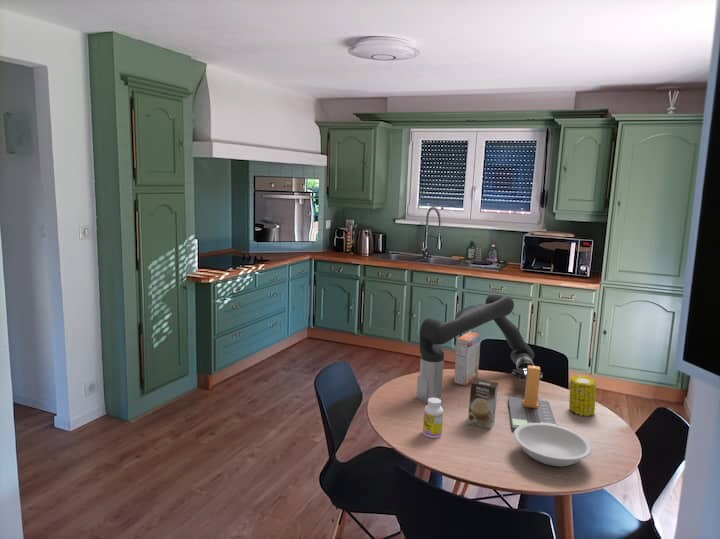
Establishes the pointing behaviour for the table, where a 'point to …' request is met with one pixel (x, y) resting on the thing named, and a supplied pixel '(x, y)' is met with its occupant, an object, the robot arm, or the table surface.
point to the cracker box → (467, 358)
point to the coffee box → (482, 403)
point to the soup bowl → (552, 443)
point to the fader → (532, 387)
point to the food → (582, 395)
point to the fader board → (529, 413)
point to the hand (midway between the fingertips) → (529, 381)
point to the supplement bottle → (433, 418)
